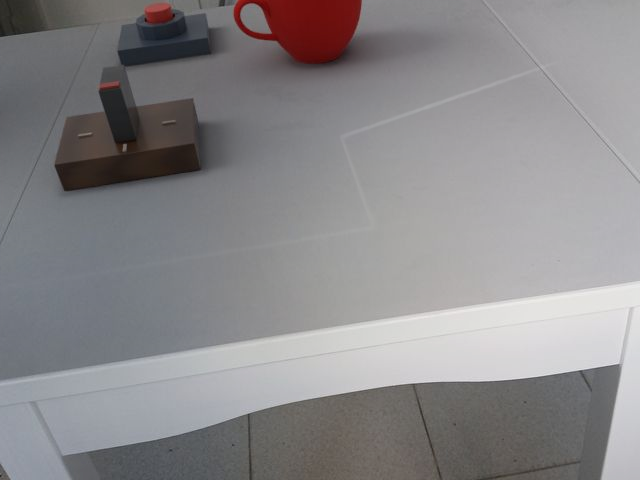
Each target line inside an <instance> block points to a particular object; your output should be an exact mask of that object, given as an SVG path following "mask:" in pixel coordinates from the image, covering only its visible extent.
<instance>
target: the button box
mask: <svg viewBox="0 0 640 480" xmlns="http://www.w3.org/2000/svg"><path fill="white" fill-rule="evenodd" d="M171 9H172V13H173V17H174V18H173V19H171V20H169V21H166V22H161V23H147V19H146V16H145V13H144V14H141V15H140V16H138V17H137V18H136V19H135V22H133V23H126V24H121V27H120V33H119V38H118V44H117V50H116V52H117V55H118V58H119V61H120V65H124V66H125V67H131V66H137V65H144V64H151V63H158V62H166V61H172V60H179V59H185V58H186V59H187V58H192V57H199V56H206V55H211V54H212V51H211V38H210V28H209V23H208V18H207V17H208V16H207V13H205V12H203V13H197V14H190V15H189V14H188V15H185V12H184V11H182V10H180V9H177V8H176V9H175V8H171Z"/></svg>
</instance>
